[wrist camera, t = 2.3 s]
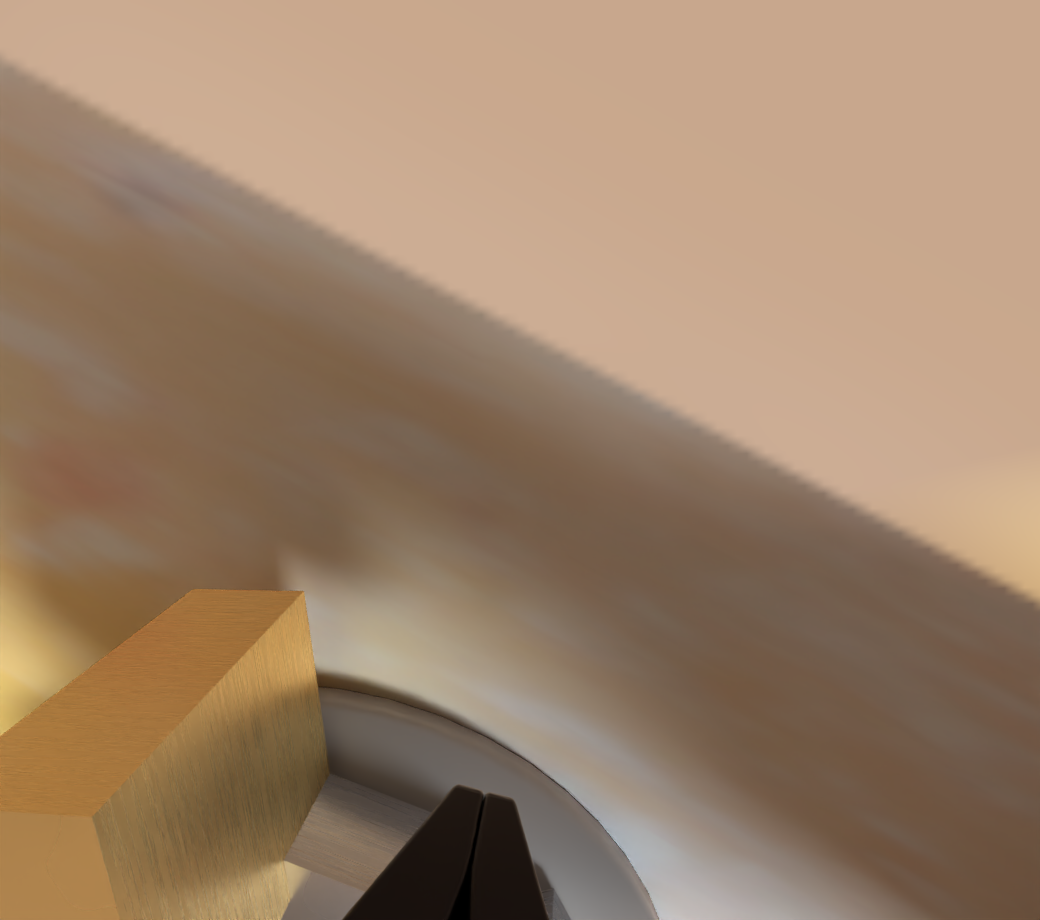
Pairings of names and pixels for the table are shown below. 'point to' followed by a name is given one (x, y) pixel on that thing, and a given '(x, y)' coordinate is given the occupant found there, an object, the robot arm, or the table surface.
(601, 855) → the housing
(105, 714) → the grey tan block cluster
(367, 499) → the table surface
